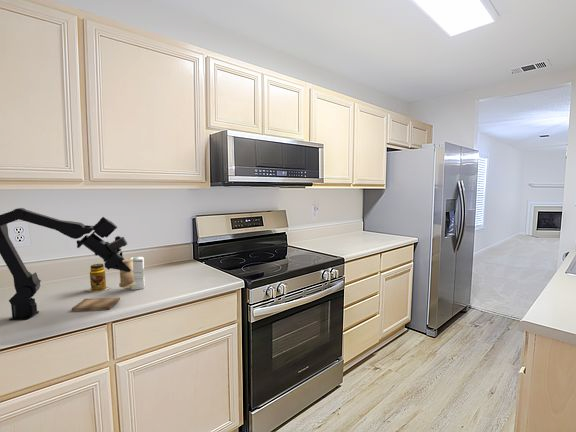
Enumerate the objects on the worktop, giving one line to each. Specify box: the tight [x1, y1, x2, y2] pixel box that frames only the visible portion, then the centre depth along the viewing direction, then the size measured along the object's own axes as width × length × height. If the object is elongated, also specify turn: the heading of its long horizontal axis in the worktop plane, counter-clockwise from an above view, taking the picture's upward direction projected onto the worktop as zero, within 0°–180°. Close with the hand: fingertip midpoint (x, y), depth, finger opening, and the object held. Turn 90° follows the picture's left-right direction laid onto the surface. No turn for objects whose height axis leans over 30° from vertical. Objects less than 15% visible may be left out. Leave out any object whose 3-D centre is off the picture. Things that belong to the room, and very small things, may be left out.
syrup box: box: [130, 256, 146, 291], centre depth 150 cm, size 6×6×14 cm
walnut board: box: [71, 297, 121, 312], centre depth 129 cm, size 14×10×1 cm
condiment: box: [85, 263, 110, 294], centre depth 148 cm, size 7×8×12 cm
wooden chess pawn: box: [118, 258, 135, 289], centre depth 133 cm, size 6×6×10 cm
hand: (130, 269), depth 133 cm, fingers closed on wooden chess pawn, 5 cm apart
